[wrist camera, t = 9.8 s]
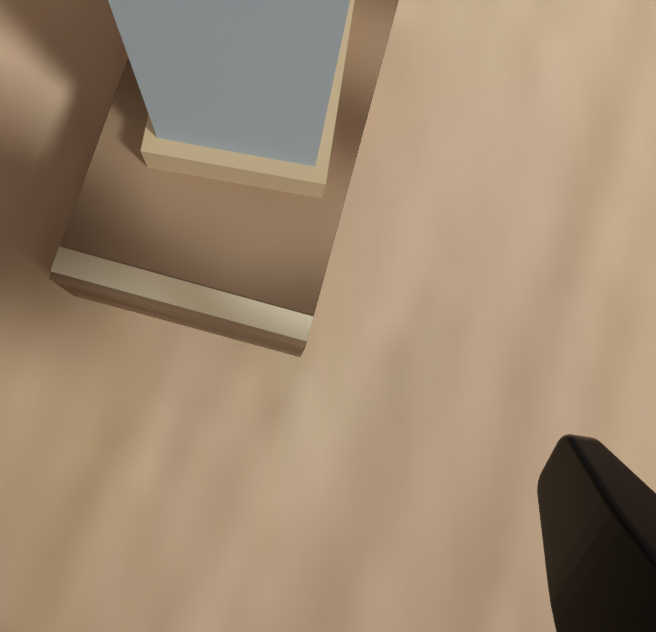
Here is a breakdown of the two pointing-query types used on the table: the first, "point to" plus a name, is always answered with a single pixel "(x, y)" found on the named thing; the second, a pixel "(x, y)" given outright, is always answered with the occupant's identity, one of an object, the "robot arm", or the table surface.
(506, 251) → the table surface
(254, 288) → the dock
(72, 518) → the table surface
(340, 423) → the table surface
